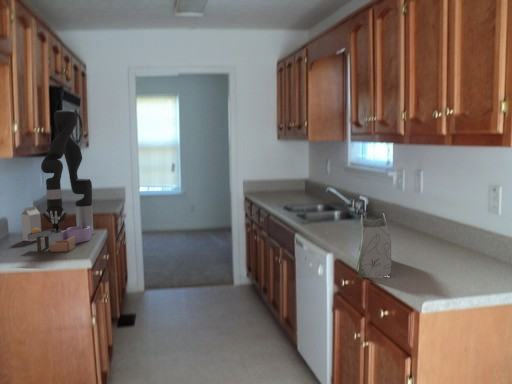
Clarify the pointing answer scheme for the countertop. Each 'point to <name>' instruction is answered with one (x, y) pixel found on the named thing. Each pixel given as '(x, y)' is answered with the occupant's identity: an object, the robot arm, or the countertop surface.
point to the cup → (63, 245)
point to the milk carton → (30, 221)
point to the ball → (35, 231)
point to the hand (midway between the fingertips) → (56, 230)
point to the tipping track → (43, 233)
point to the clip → (77, 233)
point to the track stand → (40, 243)
